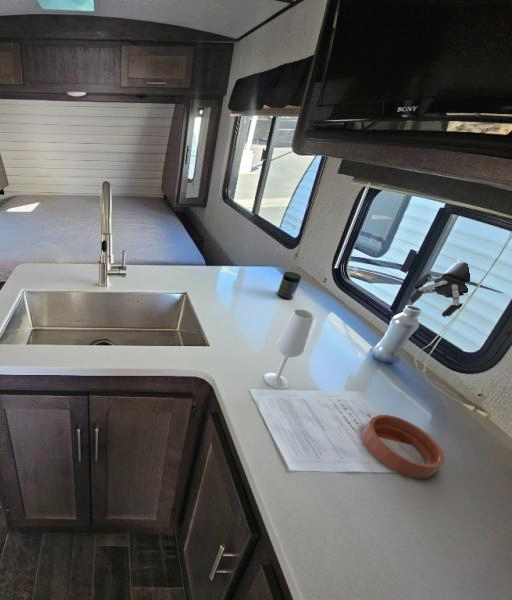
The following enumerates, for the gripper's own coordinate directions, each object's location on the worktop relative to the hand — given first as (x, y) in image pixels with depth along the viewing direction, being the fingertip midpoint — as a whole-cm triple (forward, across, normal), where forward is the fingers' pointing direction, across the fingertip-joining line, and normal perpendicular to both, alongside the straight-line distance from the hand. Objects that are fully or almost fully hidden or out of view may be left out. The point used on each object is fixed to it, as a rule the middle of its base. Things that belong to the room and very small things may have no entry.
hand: (426, 308), depth 100 cm
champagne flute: (+49, +5, +23) cm, 55 cm away
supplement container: (+17, +43, -9) cm, 47 cm away
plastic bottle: (+19, 0, -7) cm, 20 cm away
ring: (+44, -23, +18) cm, 52 cm away
